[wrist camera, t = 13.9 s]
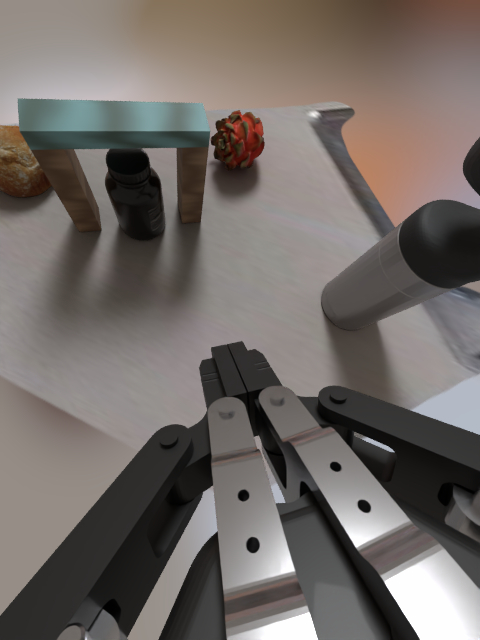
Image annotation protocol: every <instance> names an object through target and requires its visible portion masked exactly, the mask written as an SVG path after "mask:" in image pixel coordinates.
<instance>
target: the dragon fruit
mask: <svg viewBox="0 0 480 640" xmlns="http://www.w3.org/2000/svg"><path fill="white" fill-rule="evenodd" d="M228 117H229V118H225V119H222V120H221V121H220V120H218V121H216V129H217V131H218V132H217V133H216V134H215V135H214V136H212V138H211V144H212V145H214V146H215V150H214V157H215V159H218V160H220V161H225V163H226V165H225V169H227V170H228V171H229V170H232V169H234V168H235V167H236V166H237V165H238V166H239V167H240V168H246V167H248V166H249V167H248V168H250V167H251V166H252V164H253V160H254V159H255V158H256V157H258V156H259V155H260V154H261V153H262V151H263V149H264V143H265V142H264V138H263V137H262V136H263V134H264V133H263V126H262V122H261V120H260V118H255V116H254V115H253V114H252V113H251V112H247V113H245V114H244V115H241V112H240V110H238V111H234V112H232V114H231V115H230V116H228Z"/></svg>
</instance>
